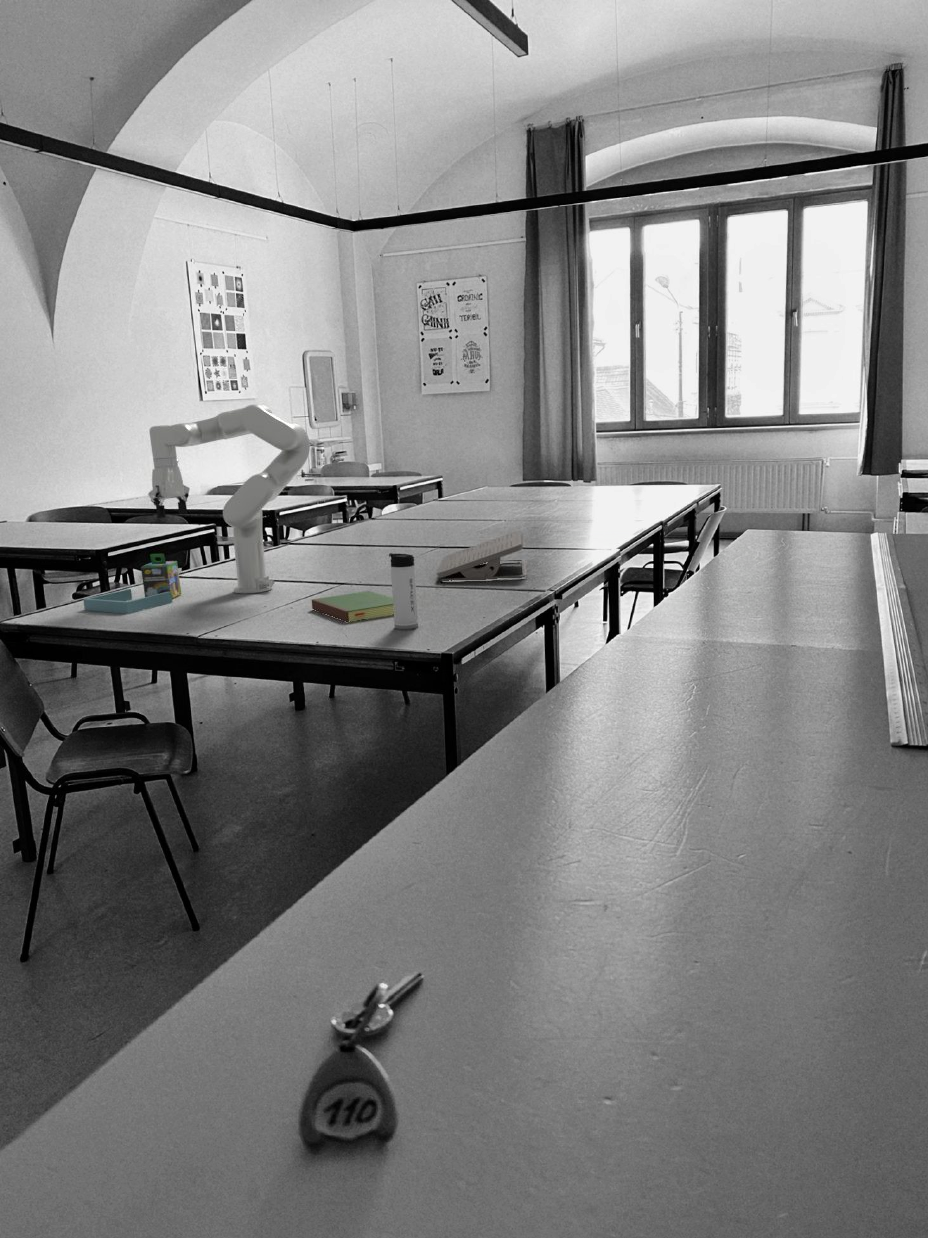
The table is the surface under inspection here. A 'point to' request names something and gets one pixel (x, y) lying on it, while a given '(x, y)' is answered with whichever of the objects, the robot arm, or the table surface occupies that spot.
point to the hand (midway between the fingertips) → (172, 515)
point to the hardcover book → (355, 606)
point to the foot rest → (482, 559)
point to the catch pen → (119, 605)
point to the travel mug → (404, 591)
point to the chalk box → (161, 577)
